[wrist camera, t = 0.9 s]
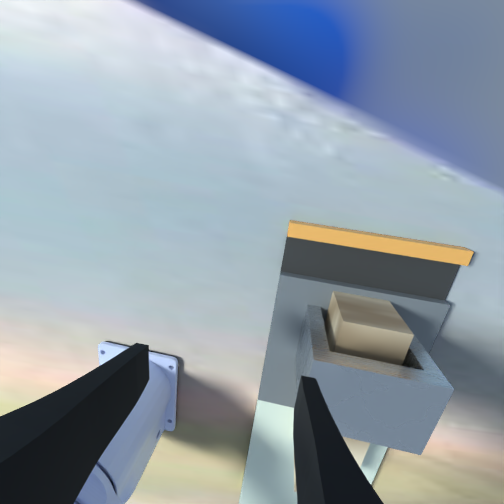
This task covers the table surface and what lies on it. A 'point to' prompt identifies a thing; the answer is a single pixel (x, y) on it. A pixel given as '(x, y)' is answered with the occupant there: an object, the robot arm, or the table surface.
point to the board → (319, 294)
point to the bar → (365, 339)
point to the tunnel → (374, 390)
